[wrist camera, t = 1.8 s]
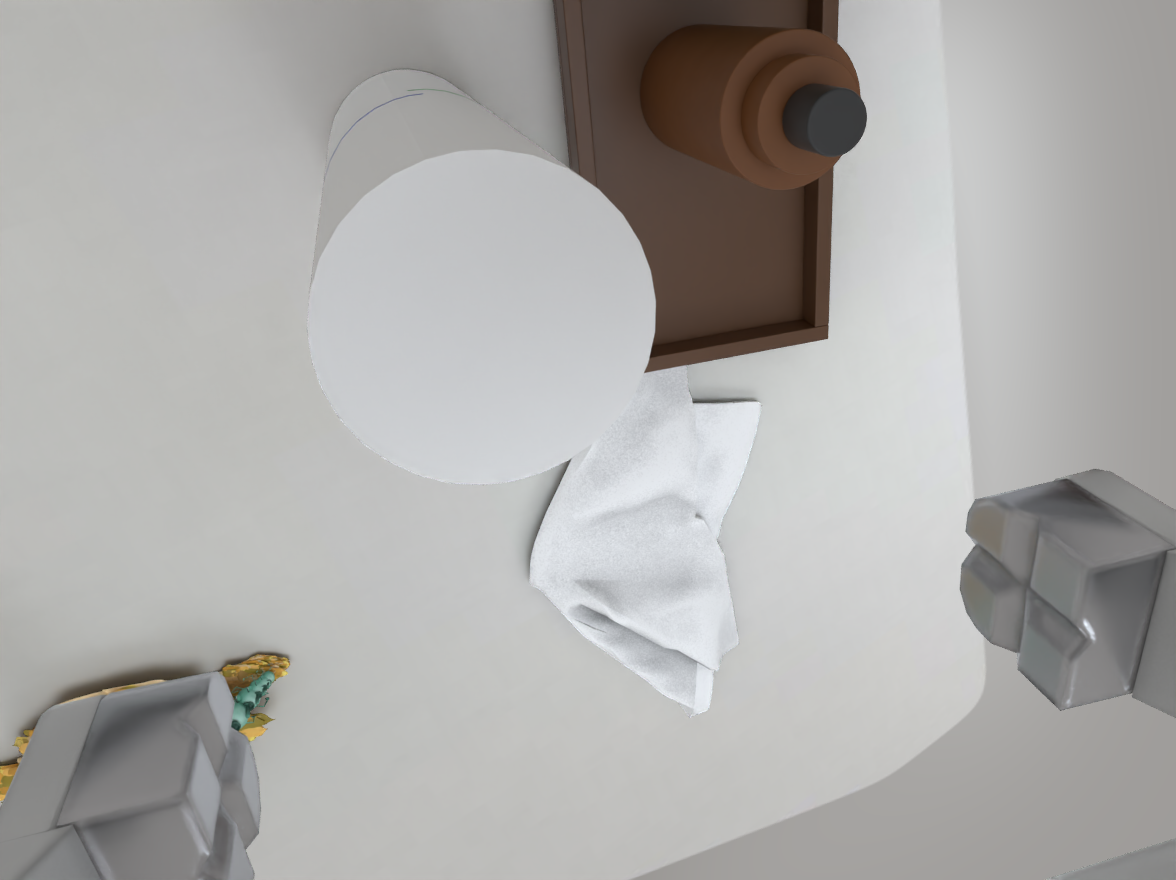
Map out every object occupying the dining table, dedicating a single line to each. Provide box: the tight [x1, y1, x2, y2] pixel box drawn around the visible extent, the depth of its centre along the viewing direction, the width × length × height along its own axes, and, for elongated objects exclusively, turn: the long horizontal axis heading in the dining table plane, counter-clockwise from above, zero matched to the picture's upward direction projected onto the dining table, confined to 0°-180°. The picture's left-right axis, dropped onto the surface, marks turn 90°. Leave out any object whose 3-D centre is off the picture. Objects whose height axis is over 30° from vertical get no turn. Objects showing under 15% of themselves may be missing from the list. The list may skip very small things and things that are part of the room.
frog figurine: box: [0, 654, 290, 803], centre depth 44 cm, size 10×18×15 cm, turn 102°
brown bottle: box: [640, 24, 867, 190], centre depth 35 cm, size 6×6×14 cm
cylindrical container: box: [307, 69, 656, 485], centre depth 29 cm, size 7×7×25 cm
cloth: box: [530, 365, 762, 718], centre depth 51 cm, size 26×14×2 cm, turn 178°
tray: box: [553, 0, 839, 373], centre depth 41 cm, size 25×13×2 cm, turn 5°
